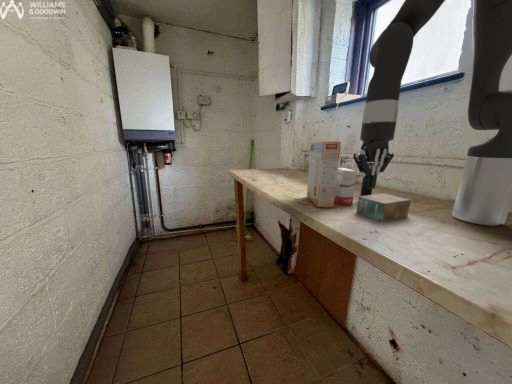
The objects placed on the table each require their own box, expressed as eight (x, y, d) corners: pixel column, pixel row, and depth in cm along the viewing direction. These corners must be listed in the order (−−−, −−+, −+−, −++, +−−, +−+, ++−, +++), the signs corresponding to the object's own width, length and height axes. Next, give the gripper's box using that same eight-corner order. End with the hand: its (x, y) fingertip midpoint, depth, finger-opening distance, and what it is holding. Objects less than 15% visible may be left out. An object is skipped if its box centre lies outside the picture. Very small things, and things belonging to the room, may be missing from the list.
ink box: (353, 205, 69) (357, 170, 66) (338, 204, 69) (342, 170, 66) (343, 198, 77) (346, 167, 74) (330, 198, 77) (333, 167, 75)
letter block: (356, 212, 62) (381, 208, 66) (381, 221, 54) (407, 216, 59) (358, 196, 60) (383, 193, 65) (384, 203, 53) (410, 199, 57)
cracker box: (335, 208, 65) (342, 141, 60) (316, 208, 65) (321, 141, 60) (321, 197, 79) (326, 141, 74) (306, 196, 79) (310, 141, 74)
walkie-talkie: (359, 200, 75) (365, 159, 71) (369, 201, 73) (376, 159, 70) (359, 203, 70) (365, 160, 67) (370, 205, 69) (377, 160, 65)
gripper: (382, 123, 57) (373, 184, 61) (347, 121, 52) (340, 187, 56) (411, 121, 51) (398, 189, 55) (374, 118, 46) (364, 193, 50)
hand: (369, 188), depth 55 cm, fingers closed
